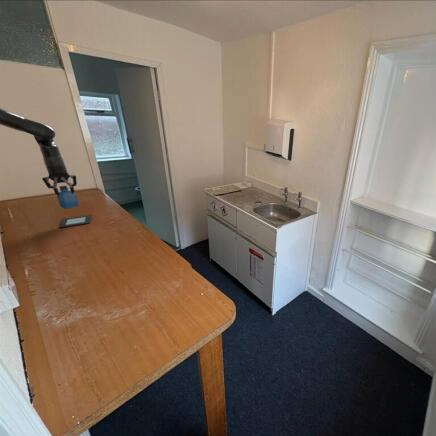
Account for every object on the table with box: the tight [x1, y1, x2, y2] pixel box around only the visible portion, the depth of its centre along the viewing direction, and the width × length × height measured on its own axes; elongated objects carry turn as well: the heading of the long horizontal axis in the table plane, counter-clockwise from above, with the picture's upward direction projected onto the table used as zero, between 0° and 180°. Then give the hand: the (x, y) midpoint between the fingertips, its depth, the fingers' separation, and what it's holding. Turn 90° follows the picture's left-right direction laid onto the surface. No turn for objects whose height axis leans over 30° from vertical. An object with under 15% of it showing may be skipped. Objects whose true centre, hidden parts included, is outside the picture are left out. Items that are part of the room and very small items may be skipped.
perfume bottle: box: [56, 185, 80, 210], centre depth 132 cm, size 6×6×12 cm
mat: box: [59, 215, 92, 229], centre depth 139 cm, size 13×13×1 cm
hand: (65, 194), depth 132 cm, fingers closed on perfume bottle, 5 cm apart
